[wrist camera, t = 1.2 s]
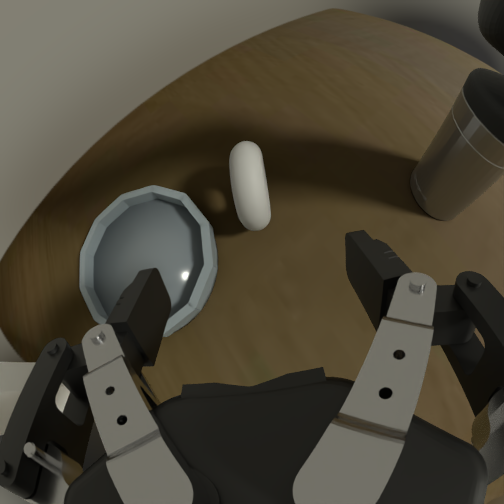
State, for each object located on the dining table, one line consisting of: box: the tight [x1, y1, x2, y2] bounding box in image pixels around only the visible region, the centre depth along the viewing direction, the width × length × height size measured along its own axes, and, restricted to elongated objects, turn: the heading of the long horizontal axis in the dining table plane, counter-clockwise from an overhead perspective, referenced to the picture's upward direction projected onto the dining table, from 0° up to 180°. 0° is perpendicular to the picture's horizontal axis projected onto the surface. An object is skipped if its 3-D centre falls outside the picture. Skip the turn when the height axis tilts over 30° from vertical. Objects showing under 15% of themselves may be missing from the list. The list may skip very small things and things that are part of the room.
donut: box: [229, 141, 271, 231], centre depth 29 cm, size 10×4×10 cm, turn 5°
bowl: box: [80, 185, 218, 337], centre depth 32 cm, size 19×19×3 cm
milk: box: [0, 362, 70, 435], centre depth 19 cm, size 6×6×22 cm
